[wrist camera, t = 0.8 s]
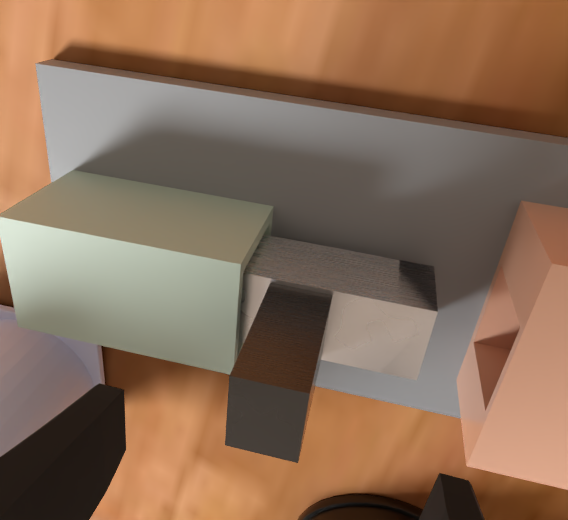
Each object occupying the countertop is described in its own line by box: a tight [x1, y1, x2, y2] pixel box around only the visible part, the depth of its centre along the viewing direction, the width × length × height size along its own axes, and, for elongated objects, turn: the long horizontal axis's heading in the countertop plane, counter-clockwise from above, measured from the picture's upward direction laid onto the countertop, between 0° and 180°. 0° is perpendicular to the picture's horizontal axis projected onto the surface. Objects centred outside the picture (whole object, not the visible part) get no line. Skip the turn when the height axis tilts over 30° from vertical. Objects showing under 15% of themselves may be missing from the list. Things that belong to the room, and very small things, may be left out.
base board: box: [36, 59, 568, 418], centre depth 20 cm, size 22×12×1 cm, turn 85°
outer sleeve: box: [0, 170, 274, 375], centre depth 19 cm, size 8×4×4 cm, turn 84°
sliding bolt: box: [225, 235, 438, 463], centre depth 17 cm, size 14×3×7 cm, turn 85°
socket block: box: [456, 201, 568, 490], centre depth 17 cm, size 4×8×4 cm, turn 175°
